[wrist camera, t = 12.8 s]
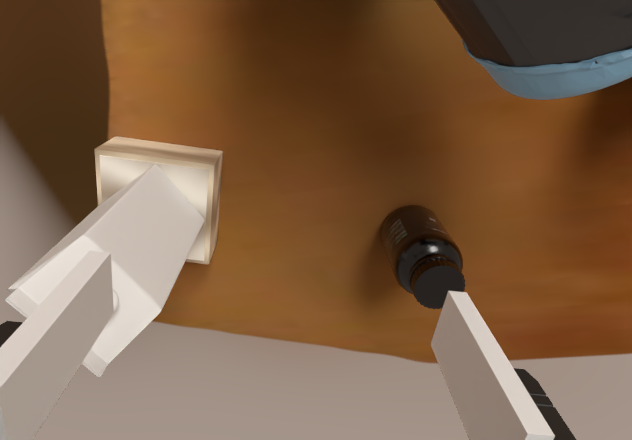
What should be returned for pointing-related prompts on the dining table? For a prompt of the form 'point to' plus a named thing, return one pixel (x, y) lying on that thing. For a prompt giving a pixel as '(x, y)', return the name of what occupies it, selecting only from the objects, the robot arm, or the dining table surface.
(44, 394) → the robot arm
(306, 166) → the dining table surface
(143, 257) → the milk carton
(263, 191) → the dining table surface
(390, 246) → the supplement bottle
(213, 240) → the pedestal
